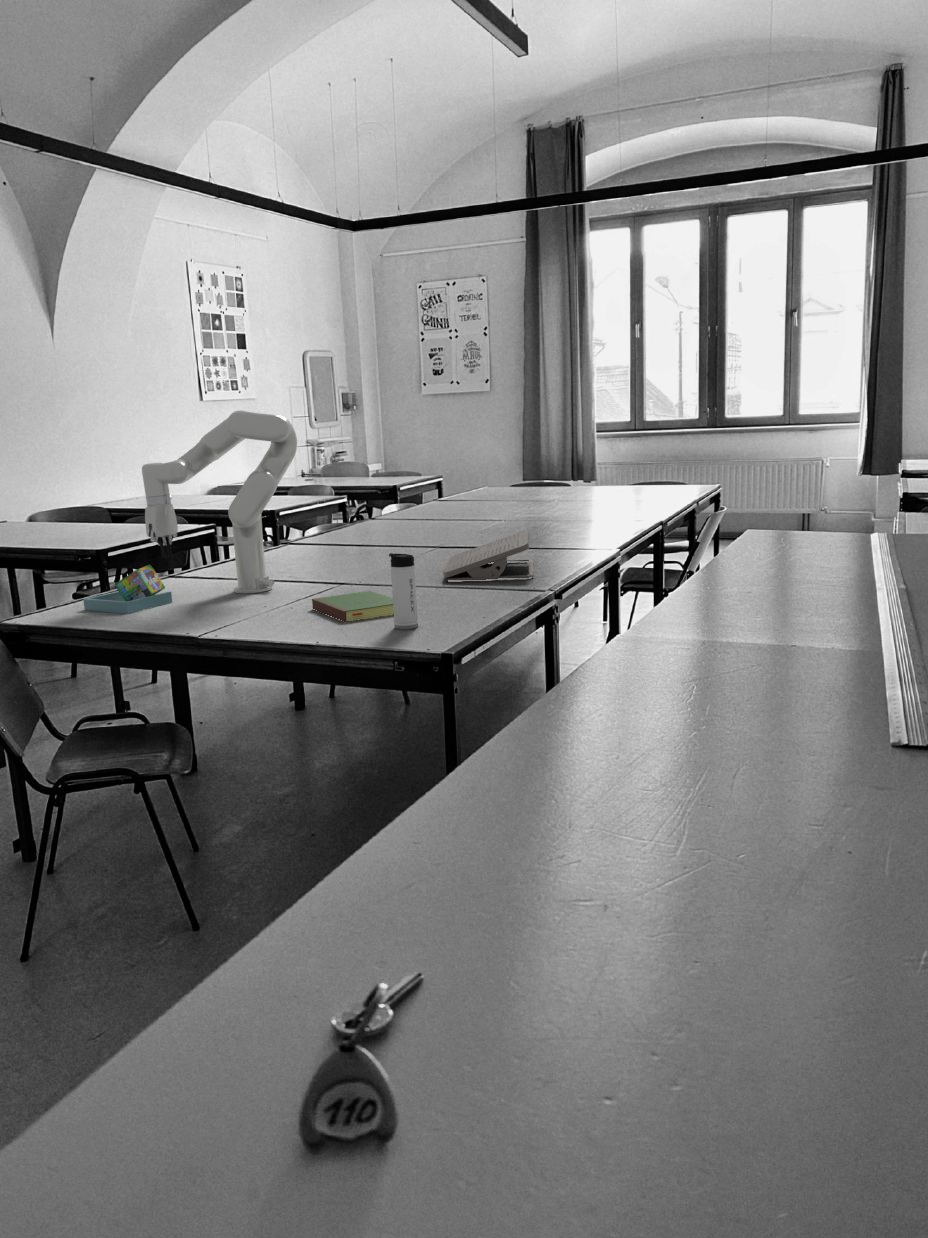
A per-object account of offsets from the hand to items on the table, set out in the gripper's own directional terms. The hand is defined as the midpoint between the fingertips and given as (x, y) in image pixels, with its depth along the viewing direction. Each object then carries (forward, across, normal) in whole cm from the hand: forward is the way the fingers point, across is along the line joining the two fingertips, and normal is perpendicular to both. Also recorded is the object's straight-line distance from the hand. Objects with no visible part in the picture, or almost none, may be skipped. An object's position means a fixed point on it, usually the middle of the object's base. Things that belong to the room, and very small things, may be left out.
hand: (167, 556), depth 325 cm
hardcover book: (+16, +4, +78) cm, 79 cm away
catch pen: (+13, +17, -1) cm, 21 cm away
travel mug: (+16, +18, +103) cm, 105 cm away
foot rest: (+18, -68, +84) cm, 109 cm away
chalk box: (+7, +8, -2) cm, 11 cm away
